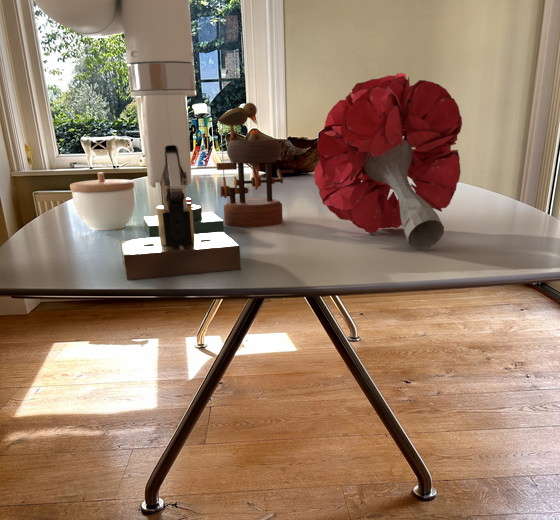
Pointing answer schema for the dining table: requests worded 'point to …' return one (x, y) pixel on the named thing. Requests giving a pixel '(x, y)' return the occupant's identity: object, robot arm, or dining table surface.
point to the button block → (201, 223)
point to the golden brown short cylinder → (161, 224)
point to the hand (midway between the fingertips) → (177, 239)
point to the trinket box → (104, 202)
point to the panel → (179, 256)
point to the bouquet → (391, 157)
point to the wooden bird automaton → (254, 152)
